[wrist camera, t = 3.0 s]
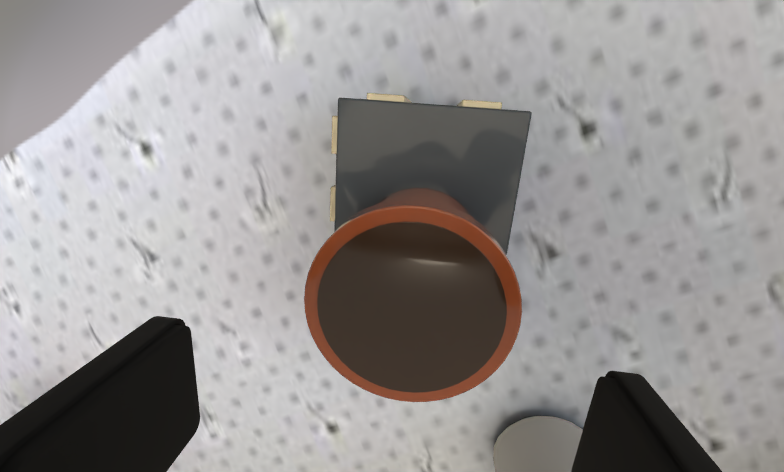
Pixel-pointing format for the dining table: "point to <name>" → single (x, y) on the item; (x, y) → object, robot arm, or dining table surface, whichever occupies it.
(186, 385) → the robot arm
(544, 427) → the can
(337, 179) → the dark grey striped block
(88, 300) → the dining table surface
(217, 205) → the dining table surface
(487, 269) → the terracotta pot
